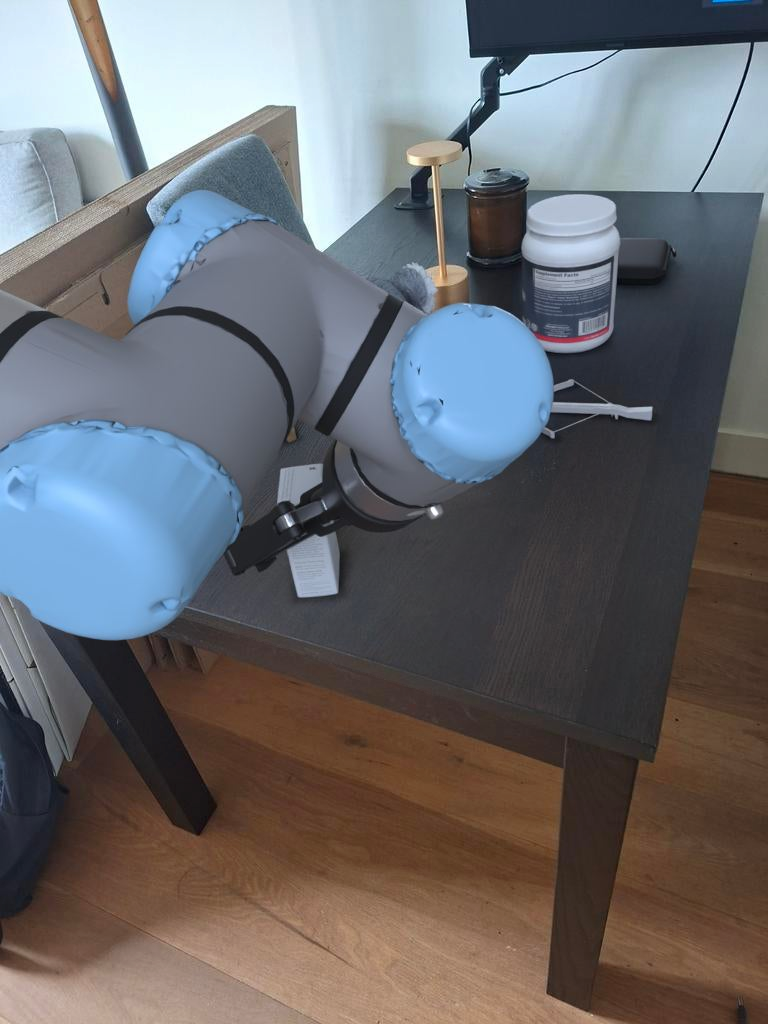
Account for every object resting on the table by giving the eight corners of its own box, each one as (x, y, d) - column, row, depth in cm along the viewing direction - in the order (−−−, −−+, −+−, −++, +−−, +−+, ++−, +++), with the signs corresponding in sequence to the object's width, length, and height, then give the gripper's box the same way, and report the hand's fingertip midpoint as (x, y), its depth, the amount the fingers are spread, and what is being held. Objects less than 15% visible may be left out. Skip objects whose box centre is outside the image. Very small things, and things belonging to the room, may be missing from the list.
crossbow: (509, 441, 93) (507, 427, 92) (531, 389, 102) (530, 375, 101) (645, 448, 87) (646, 433, 86) (657, 392, 96) (657, 377, 95)
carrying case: (669, 289, 118) (677, 253, 129) (672, 270, 116) (679, 235, 127) (599, 286, 122) (612, 252, 132) (600, 268, 120) (613, 234, 130)
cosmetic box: (300, 559, 80) (276, 465, 72) (342, 554, 79) (323, 460, 72) (297, 601, 75) (271, 506, 67) (342, 596, 75) (321, 500, 67)
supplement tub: (536, 313, 117) (537, 190, 106) (621, 320, 112) (632, 192, 101) (510, 353, 109) (508, 223, 97) (601, 362, 104) (610, 227, 92)
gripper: (232, 606, 43) (213, 625, 63) (574, 444, 51) (460, 507, 71) (176, 488, 43) (174, 544, 63) (524, 345, 51) (425, 435, 72)
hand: (325, 524), depth 67 cm, fingers open, 13 cm apart
